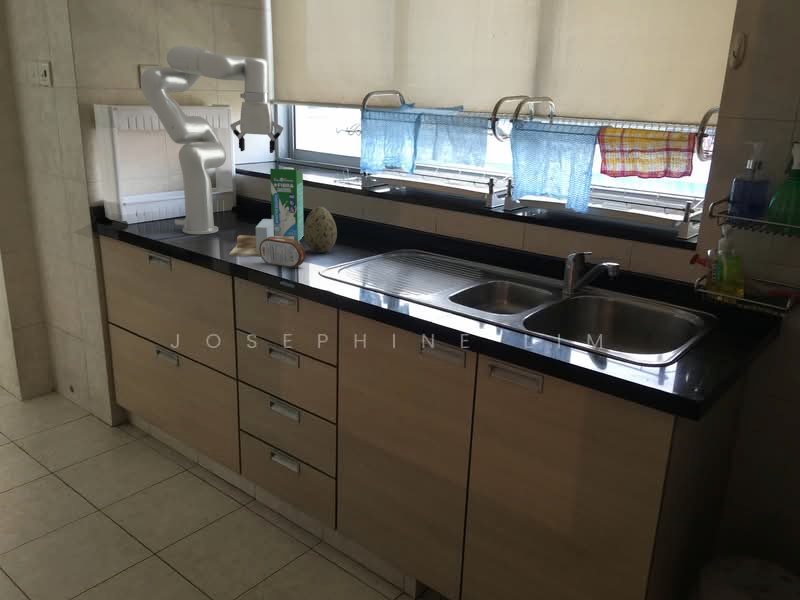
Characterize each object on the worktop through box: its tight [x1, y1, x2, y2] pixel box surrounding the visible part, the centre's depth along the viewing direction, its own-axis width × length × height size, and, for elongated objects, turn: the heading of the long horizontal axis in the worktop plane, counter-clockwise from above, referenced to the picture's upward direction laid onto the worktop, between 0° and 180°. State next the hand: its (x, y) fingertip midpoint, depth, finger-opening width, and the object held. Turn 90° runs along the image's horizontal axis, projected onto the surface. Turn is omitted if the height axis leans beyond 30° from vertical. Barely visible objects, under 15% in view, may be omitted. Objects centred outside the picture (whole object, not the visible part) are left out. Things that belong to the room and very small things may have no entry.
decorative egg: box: [303, 205, 338, 254], centre depth 221 cm, size 11×11×15 cm
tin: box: [259, 237, 306, 269], centre depth 205 cm, size 15×3×8 cm, turn 65°
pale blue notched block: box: [255, 218, 274, 252], centre depth 223 cm, size 14×4×8 cm, turn 2°
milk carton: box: [269, 166, 304, 242], centre depth 237 cm, size 9×9×25 cm
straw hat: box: [229, 234, 301, 257], centre depth 224 cm, size 20×18×4 cm
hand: (257, 151), depth 227 cm, fingers open, 9 cm apart
